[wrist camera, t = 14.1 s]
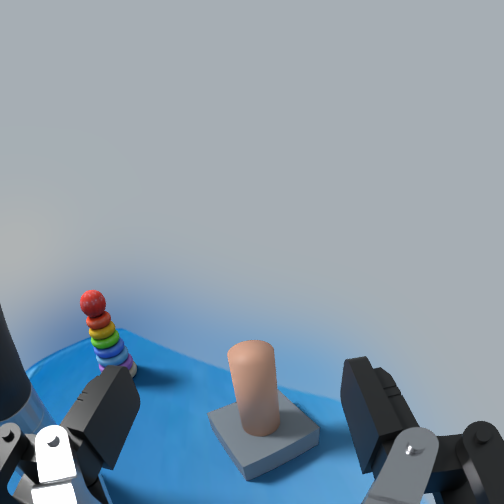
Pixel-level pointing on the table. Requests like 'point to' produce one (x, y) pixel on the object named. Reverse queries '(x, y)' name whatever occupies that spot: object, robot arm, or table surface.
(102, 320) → the stacking toy
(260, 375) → the terracotta peg
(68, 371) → the table surface
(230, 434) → the slate base block
